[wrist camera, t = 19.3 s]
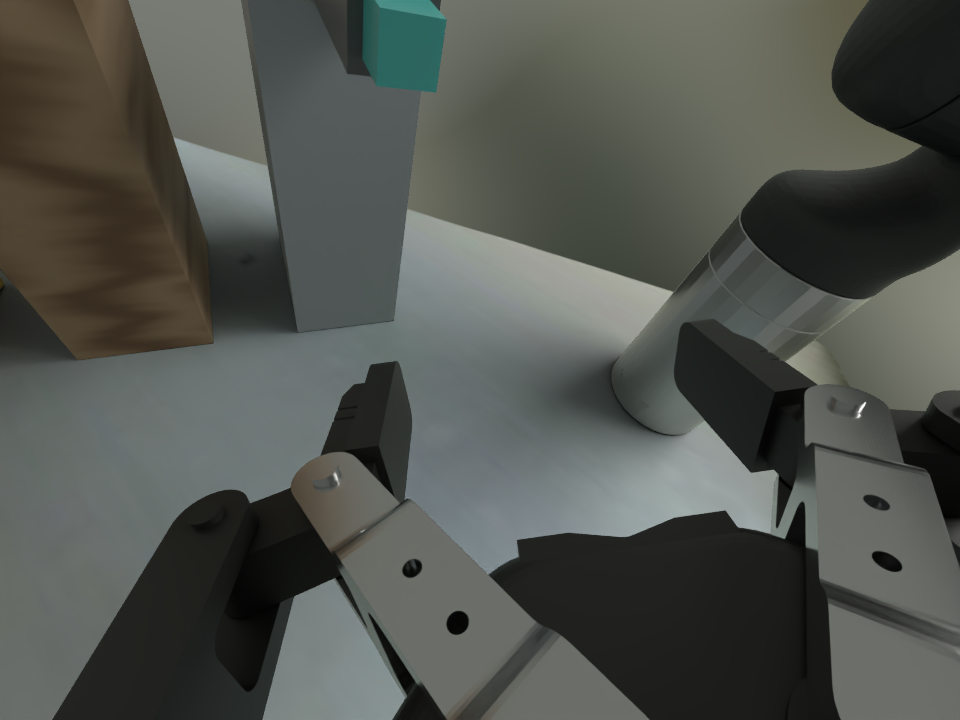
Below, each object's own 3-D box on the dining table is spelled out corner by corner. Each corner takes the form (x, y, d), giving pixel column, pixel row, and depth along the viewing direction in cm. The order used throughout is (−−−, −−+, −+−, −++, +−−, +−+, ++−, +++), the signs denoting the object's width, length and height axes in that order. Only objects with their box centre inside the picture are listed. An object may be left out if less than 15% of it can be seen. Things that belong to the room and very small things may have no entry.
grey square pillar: (363, 235, 43) (371, -54, 26) (393, 320, 37) (429, 17, 20) (279, 238, 40) (226, -90, 23) (297, 332, 34) (244, -16, 17)
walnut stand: (207, 241, 38) (-21, -454, 15) (213, 343, 32) (-155, -561, 9) (94, 246, 34) (-428, -639, 11) (77, 360, 28) (-1097, -1019, 5)
